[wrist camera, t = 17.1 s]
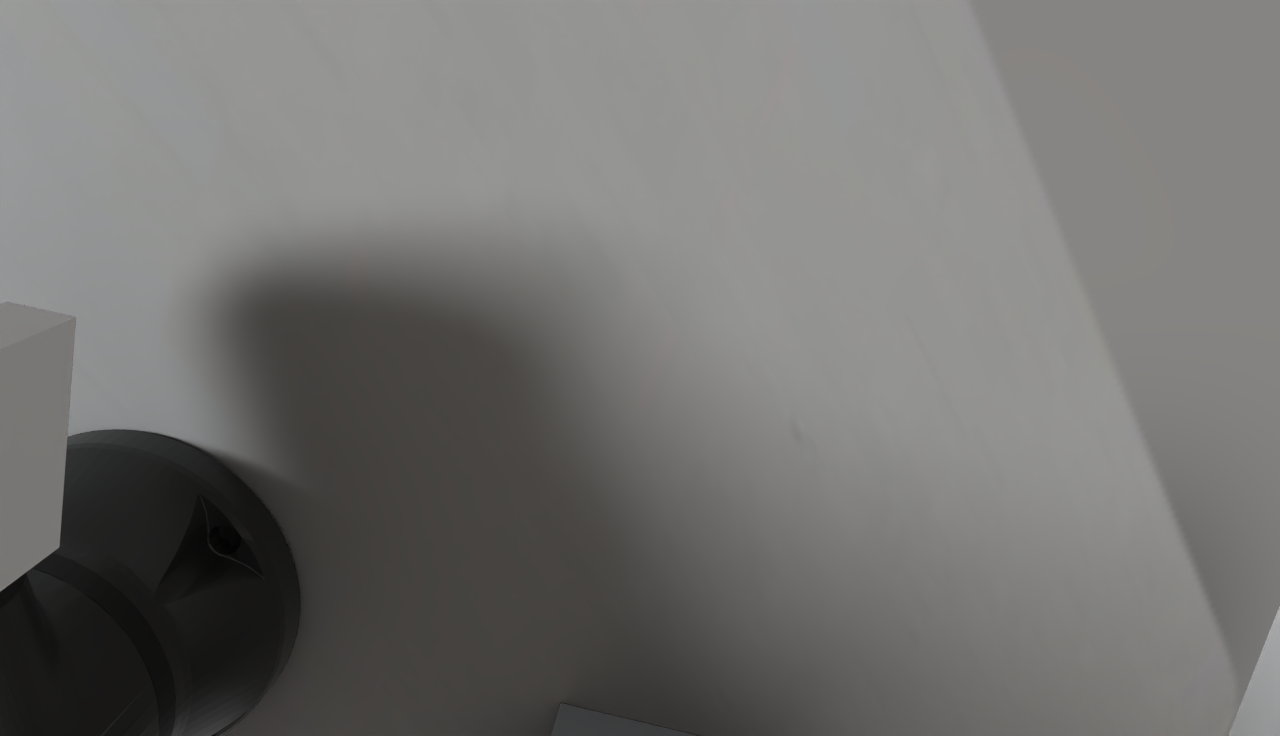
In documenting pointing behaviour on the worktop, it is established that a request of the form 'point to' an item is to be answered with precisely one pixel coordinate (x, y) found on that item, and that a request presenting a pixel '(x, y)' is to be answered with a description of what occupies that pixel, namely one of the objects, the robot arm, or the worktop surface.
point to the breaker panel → (603, 724)
